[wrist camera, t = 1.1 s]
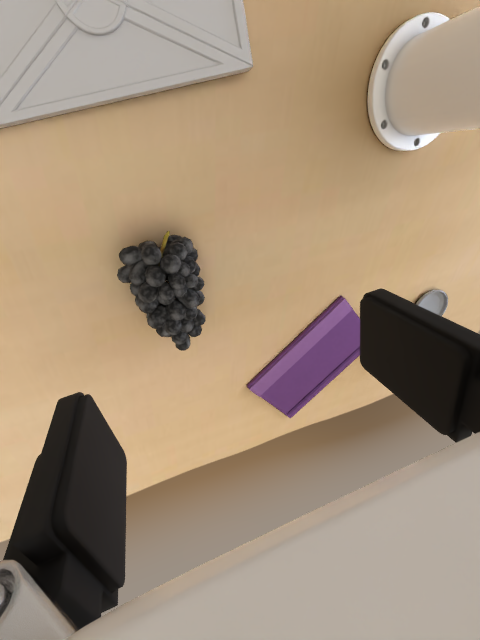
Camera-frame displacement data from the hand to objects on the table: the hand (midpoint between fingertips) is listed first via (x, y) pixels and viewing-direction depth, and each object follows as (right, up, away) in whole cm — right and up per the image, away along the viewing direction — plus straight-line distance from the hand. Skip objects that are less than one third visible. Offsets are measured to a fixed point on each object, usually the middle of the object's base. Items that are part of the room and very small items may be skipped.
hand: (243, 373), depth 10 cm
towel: (+12, -5, +39) cm, 42 cm away
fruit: (-9, +6, +27) cm, 29 cm away
